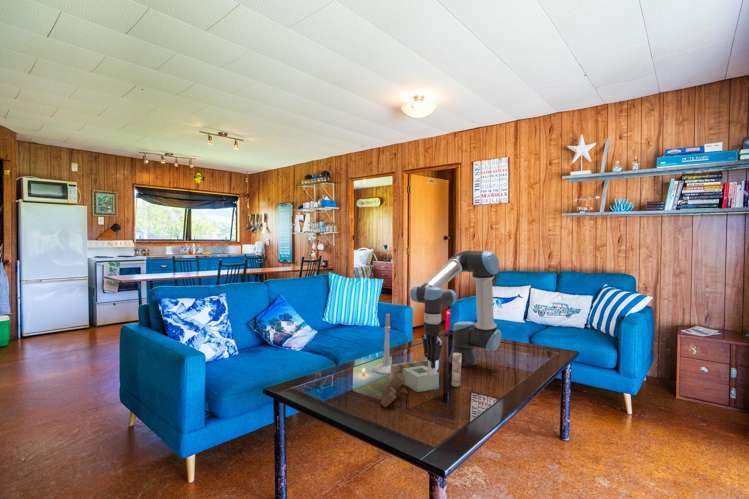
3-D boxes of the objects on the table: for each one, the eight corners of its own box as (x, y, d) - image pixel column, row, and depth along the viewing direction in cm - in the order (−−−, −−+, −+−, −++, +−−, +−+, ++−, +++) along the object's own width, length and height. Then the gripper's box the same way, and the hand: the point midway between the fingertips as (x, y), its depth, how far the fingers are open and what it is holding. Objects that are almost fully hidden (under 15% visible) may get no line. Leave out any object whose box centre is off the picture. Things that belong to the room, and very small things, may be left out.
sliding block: (422, 379, 189) (423, 365, 189) (438, 388, 179) (439, 372, 179) (402, 383, 183) (402, 368, 183) (417, 392, 173) (417, 376, 173)
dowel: (456, 385, 186) (457, 352, 186) (462, 388, 183) (463, 354, 182) (449, 386, 184) (451, 353, 184) (455, 389, 181) (456, 355, 180)
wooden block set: (385, 414, 159) (400, 399, 155) (371, 397, 162) (386, 382, 158) (404, 396, 175) (418, 383, 171) (391, 381, 178) (404, 367, 174)
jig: (427, 379, 194) (428, 358, 194) (456, 393, 176) (457, 371, 176) (390, 385, 183) (390, 364, 183) (416, 402, 165) (417, 379, 165)
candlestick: (398, 367, 211) (400, 311, 210) (397, 375, 198) (399, 316, 198) (374, 365, 212) (376, 310, 212) (372, 373, 199) (374, 314, 199)
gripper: (417, 320, 178) (415, 371, 179) (435, 326, 167) (433, 380, 167) (430, 318, 182) (428, 368, 182) (448, 324, 170) (447, 378, 171)
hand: (431, 374), depth 175 cm, fingers closed
